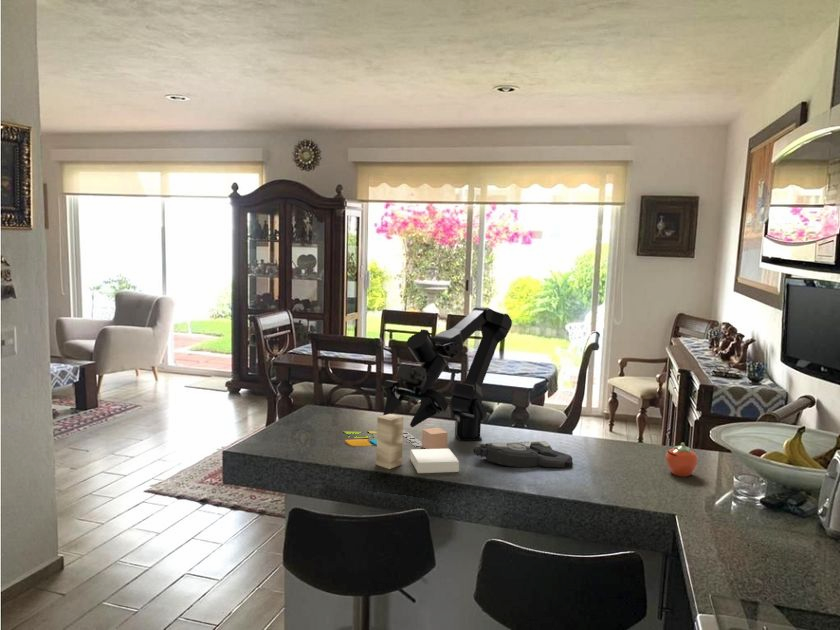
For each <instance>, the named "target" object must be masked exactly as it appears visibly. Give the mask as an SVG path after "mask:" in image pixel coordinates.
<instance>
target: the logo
mask: <svg viewBox="0 0 840 630" xmlns="http://www.w3.org/2000/svg"><path fill="white" fill-rule="evenodd" d="M343 432H344V433H343ZM361 432H362V431H347V430H345V431H342V433H343V434H346V435H347V434H351V433H352V434H354V433H355V434H359V433H361ZM368 432H369V433H368ZM366 433H368V434H370V433H377V430H376V431H374V430H373V431H372V430H368V431H366ZM403 433H408V434H403V436H404V437H403V438H405V437H407V438H406V441H407V442H406V443H409V442H410V441H409V440H411V441H416V442H417V443H419V444H417V443H411V442H410V443H409V444H412V445H411V446H415V447H414V448H417V447H416V446H419V447H422V440H420V439H418V438H416V437H415V436H414V435H412V434H410V432H407V431H406V430H403ZM349 437H350V436H348V437H347V439H345V440H344V443H345V444H347V445H348V446H349V447H354V446H355V448H357V446H360V447H369V446H368V445H373V446H376V445H377V438H374V439H375V440H374V439H370V438H371V437H370V435H369V437H370V438H369V437H368V436H366V437H357V436H356V437H354V438H369V439H370V441H369V439H348V438H349ZM410 438H415V439H410ZM407 439H408V440H407ZM372 443H373V444H372ZM366 445H367V446H366Z"/></svg>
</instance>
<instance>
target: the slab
mask: <svg viewBox="0 0 840 630" xmlns="http://www.w3.org/2000/svg"><path fill="white" fill-rule="evenodd" d="M410 461H411V463H412V465H413V467H414V469H415V470H416V472H417V474H428V473H429V474H430V473H432V474H433V473H457V472H459V471H460V461H459V459H458V458H457V457H456V455H455V454H454V452H452V451H451V449H450V448H447V449H424V448H422V449H421V448H419V449H410Z"/></svg>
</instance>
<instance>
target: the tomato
mask: <svg viewBox="0 0 840 630" xmlns="http://www.w3.org/2000/svg"><path fill="white" fill-rule="evenodd" d="M665 461H666V465H667V467H668V469H669V471H670V472H671V473H672V474H673V475H674V476H678V477H688V476H690V475H692V474H693V473H694V472H695V470H696V468H697V466H698V464H699V457H698V456H697V454H696V453H695V451H694V450H692V449H691V448H690V447H689V446H686V445H685V442H681V443H680V445H675V446H673V448H670V449H669V450H668V451H667V452H666V454H665Z"/></svg>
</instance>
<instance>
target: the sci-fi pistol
mask: <svg viewBox="0 0 840 630" xmlns="http://www.w3.org/2000/svg"><path fill="white" fill-rule="evenodd" d="M472 453H473V455H474V456H477V457H481V458H486V460H487V461H488V462H490V463H492V464H498V465H501V466H503V467H512V468H532V467H533V468H535V467H545V468H559V469H560V468H564V469H565V468H571V467H572V465H573V457H572V456H571V455H570V454H567V453H565V452H561V451H558V450H554V449H553V448H552V446H551V444H550V443H549V442H547V441H545V440H529V441H504V442H503V441H502V442H481V443H478V445H477V446H474V447H473V449H472Z"/></svg>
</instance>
